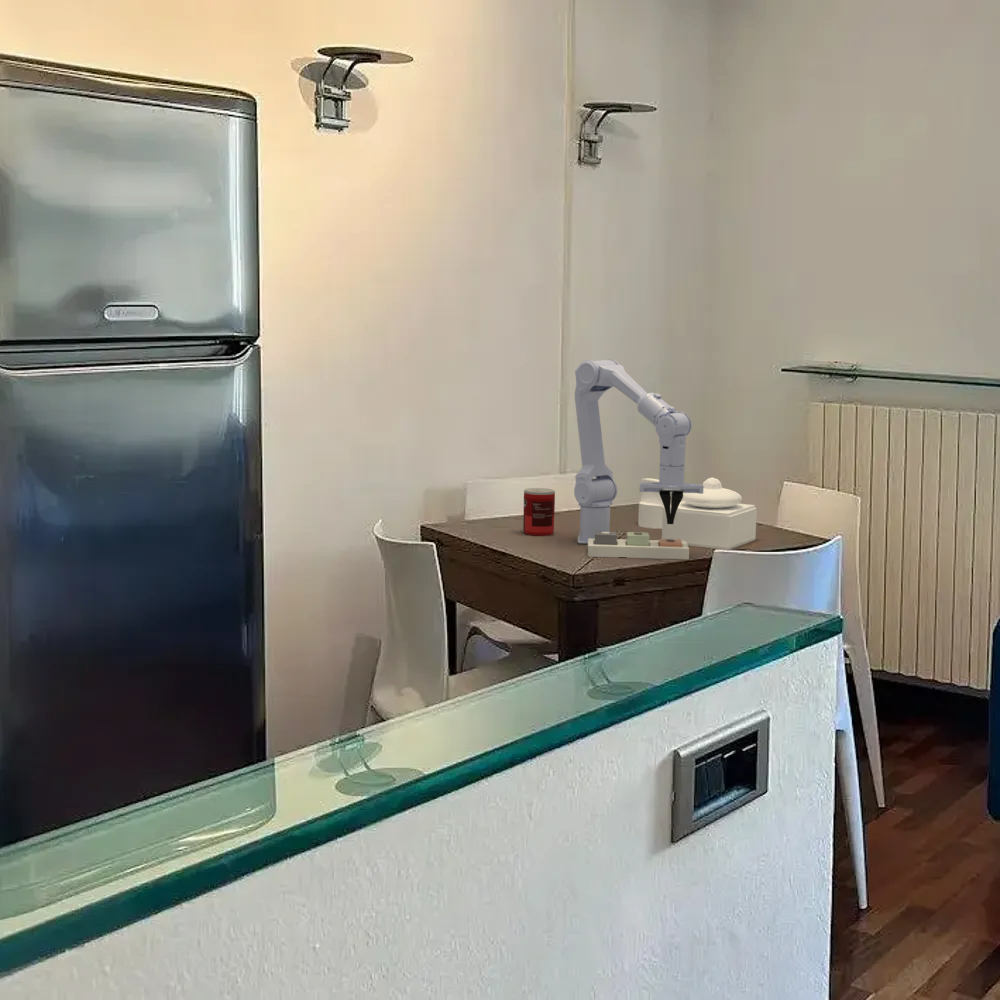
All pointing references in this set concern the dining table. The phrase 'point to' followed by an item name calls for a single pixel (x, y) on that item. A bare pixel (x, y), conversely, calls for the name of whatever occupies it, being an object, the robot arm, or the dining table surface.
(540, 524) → the canned food
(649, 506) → the cylinder with rectangular tab
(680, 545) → the key terracotta
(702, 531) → the white block with dome
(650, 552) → the keypad housing
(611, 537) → the key charcoal
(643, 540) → the key sage
